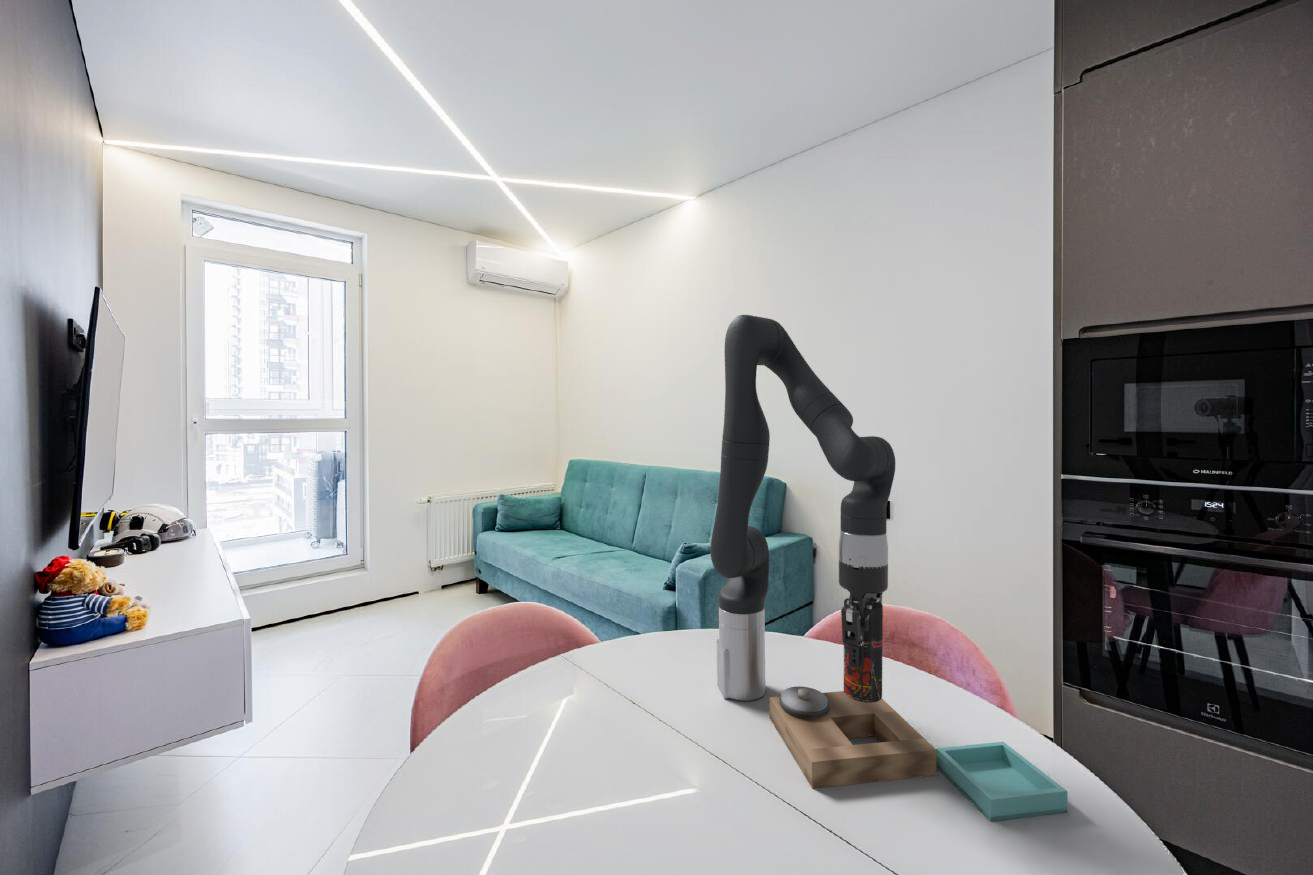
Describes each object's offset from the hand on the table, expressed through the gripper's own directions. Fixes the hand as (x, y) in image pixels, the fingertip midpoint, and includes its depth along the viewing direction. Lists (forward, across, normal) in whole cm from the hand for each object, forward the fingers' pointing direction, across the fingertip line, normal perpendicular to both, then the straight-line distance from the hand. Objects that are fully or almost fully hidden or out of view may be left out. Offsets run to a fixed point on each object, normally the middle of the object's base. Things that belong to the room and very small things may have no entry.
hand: (862, 659), depth 88 cm
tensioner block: (+16, 0, -3) cm, 16 cm away
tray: (+15, -3, +19) cm, 24 cm away
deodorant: (+6, 0, 0) cm, 6 cm away
